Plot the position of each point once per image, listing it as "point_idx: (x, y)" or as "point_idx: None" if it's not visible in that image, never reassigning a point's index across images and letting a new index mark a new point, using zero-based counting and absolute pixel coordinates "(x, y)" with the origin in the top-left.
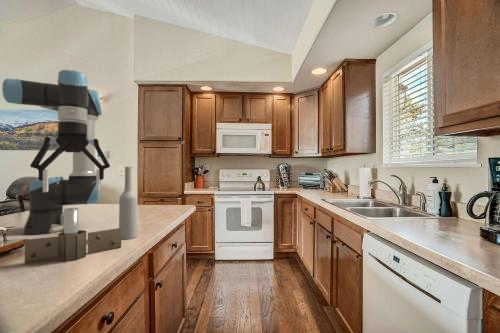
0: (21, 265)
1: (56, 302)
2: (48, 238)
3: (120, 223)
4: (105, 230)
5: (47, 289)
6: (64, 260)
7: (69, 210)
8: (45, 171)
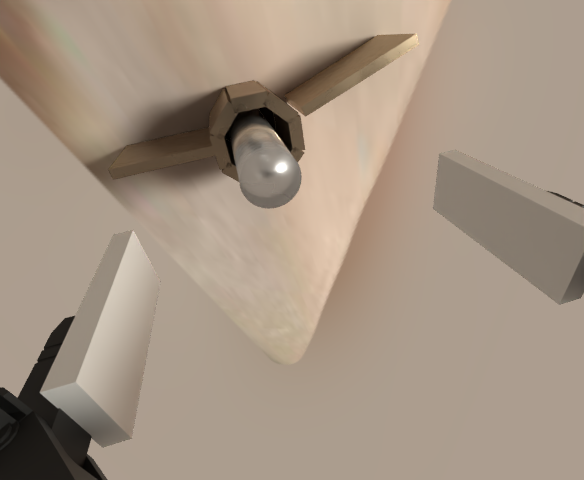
0: None
1: (306, 327)
2: (184, 161)
3: None
4: (360, 77)
5: (277, 296)
6: None
7: (272, 205)
8: (128, 424)
